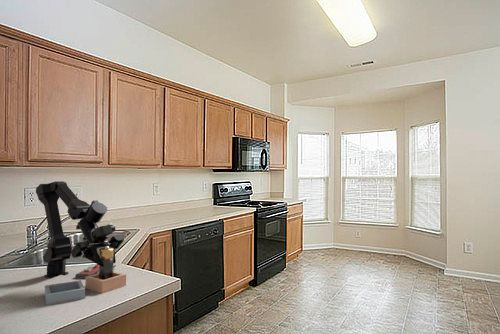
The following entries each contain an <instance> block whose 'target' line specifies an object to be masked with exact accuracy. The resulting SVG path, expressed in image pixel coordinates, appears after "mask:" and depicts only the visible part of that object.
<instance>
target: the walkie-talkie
mask: <svg viewBox="0 0 500 334" xmlns="http://www.w3.org/2000/svg"><path fill="white" fill-rule="evenodd" d="M116 266H117V265H115V264H113V269H114V268H116ZM98 273H99V265H98V264H96V263H95V264H94V263H93V264H90V265H88V267H87V268H84V269H83V270H82V271H79V272H78V273H75V276H74V277H75V279H80V280H81V279H85V280H86V277H87V276H90V275H94V274H98Z"/></svg>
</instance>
